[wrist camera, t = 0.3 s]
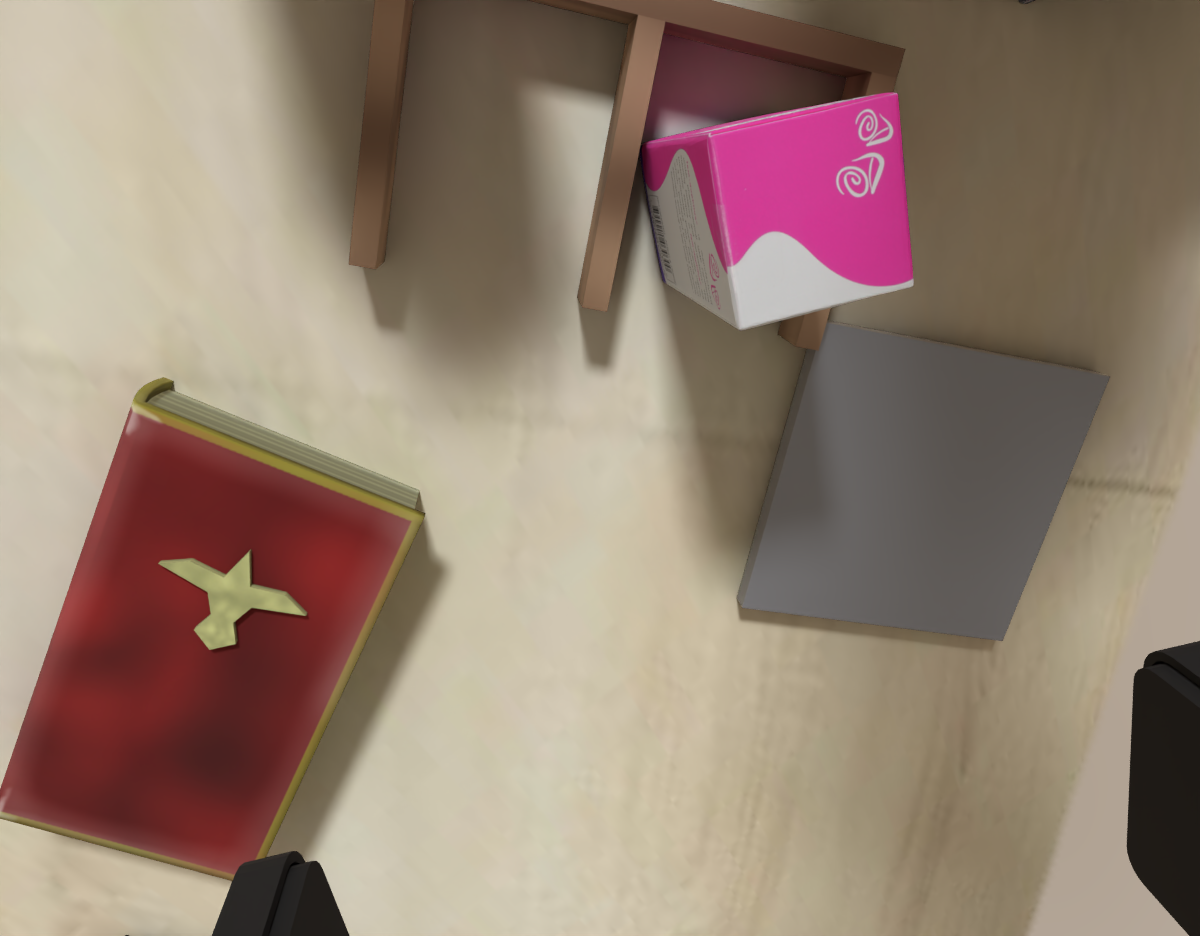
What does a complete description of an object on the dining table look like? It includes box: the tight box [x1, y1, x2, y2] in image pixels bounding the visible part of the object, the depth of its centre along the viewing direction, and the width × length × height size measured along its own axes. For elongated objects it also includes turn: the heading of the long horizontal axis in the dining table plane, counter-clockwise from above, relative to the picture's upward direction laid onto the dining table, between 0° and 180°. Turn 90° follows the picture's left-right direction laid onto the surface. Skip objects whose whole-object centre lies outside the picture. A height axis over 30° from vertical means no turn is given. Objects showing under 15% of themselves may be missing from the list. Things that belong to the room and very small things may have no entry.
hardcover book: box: [0, 378, 425, 881], centre depth 38 cm, size 12×21×4 cm, turn 154°
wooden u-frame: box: [349, 0, 905, 351], centre depth 33 cm, size 12×19×2 cm, turn 79°
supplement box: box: [639, 93, 914, 331], centre depth 30 cm, size 6×6×12 cm
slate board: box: [737, 320, 1110, 641], centre depth 40 cm, size 14×14×1 cm
